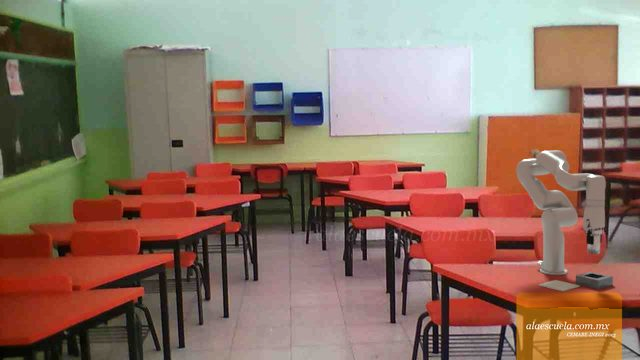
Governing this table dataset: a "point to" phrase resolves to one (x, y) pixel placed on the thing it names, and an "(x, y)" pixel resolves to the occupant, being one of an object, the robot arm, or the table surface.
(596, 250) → the end cover
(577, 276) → the bore housing
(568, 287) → the sage mat
